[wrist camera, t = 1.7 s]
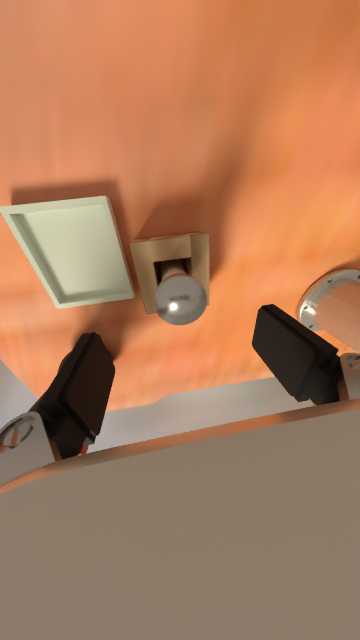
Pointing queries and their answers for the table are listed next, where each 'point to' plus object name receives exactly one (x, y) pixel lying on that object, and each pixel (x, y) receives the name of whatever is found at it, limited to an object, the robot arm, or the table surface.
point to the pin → (179, 295)
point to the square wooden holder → (168, 249)
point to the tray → (73, 249)
